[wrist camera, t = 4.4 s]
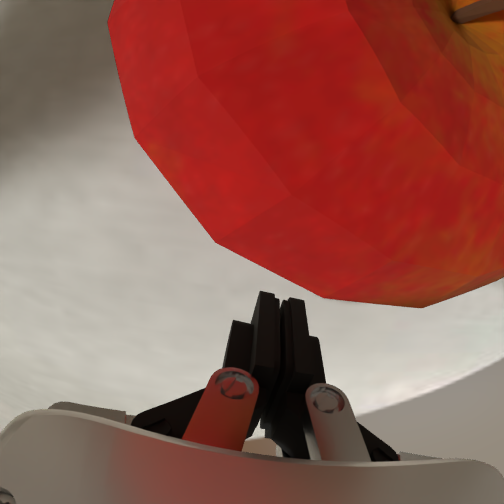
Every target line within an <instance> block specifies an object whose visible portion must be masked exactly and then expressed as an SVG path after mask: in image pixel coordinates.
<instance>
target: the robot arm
mask: <svg viewBox="0 0 504 504" xmlns="http://www.w3.org/2000/svg"><path fill="white" fill-rule="evenodd" d="M260 418H261V419H260ZM259 420H260V428H261V429H265V438H270V439H272V440H273V441H274V442H275V443H276V444H277V447H276V456H269V455H261V454H254V453H248V452H241V451H242V448H243V444H244V441H245V439H247V438H249V437H251V436H252V434H253V432H254V430H255V428H256V427H257V425H258V422H259ZM13 497H14V498H13ZM0 504H504V478H503V476H502V474H501V473H500V472H499V471H498V470H497V469H496V468H495V467H493V466H491V465H489V464H486V463H485V462H481V461H477V460H471V459H459V458H455V459H454V458H449V459H442V458H437V457H430V456H424V455H417V454H412V453H406V452H399V453H398V454H396V452H395V451H394V450H393V449H392V448H391V447H390V446H388V445H387V444H386V443H384V442H383V441H382V440H380V439H379V438H377V437H376V436H375V435H374V434H372V433H371V432H370V431H368V430H367V429H366V428H365V427H363V426H362V425H361V424H359V423H358V422H357V421H356V418H355V416H354V413H353V410H352V408H351V405H350V403H349V400H348V398H347V396H346V395H345V394H344V393H343V392H342V391H341V390H340V389H339V388H337V387H335V386H333V385H330V384H326V380H325V374H324V367H323V361H322V355H321V349H320V343H319V339H318V338H317V337H314V336H309V330H308V323H307V316H306V309H305V302H304V300H300V299H296V298H291V297H290V298H289V299H288V301H287V300H283V301H282V304H281V307H280V301H279V299H277V298H275V294H273V293H268V292H263V291H260V292H259V296H258V299H257V303H256V306H255V310H254V313H253V317H252V321H251V324H249V323H245V322H240V321H236V320H233V322H232V326H231V330H230V334H229V339H228V343H227V347H226V352H225V357H224V362H223V367H222V369H219V370H217V371H216V372H214V373H213V375H212V376H211V378H210V380H209V382H208V384H207V386H206V388H204V389H201V390H199V391H196V392H194V393H191V394H189V395H186V396H184V397H181V398H179V399H176V400H173V401H171V402H168V403H166V404H163V405H160V406H157V407H155V408H152V409H149V410H146V411H144V412H142V413H140V414H138V415H137V416H133V415H126V411H119V410H112V409H106V408H99V407H93V406H88V405H82V404H77V403H72V402H58V403H54V404H53V405H52V406H50V407H49V408H48V409H38V410H31V411H27V412H24V413H22V414H20V415H18V416H17V417H15V418H14V419H13V420H12V421H11V422H10V423H9V424H8V425H7V426H6V427H5V428H4V429H3V430H2V431H1V433H0Z"/></svg>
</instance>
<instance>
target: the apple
mask: <svg viewBox="0 0 504 504" xmlns="http://www.w3.org/2000/svg"><path fill="white" fill-rule="evenodd" d="M108 27H109V32H110V37H111V42H112V47H113V52H114V56H115V61H116V65H117V70H118V74H119V79H120V83H121V87H122V91H123V95H124V99H125V103H126V107H127V111H128V115H129V119H130V122H131V126H132V130H133V134H134V137H135V139H136V140H137V142H138V143H139V144H140V146H141V147H142V148H143V150H144V151H145V152H146V153H147V155H148V156H149V157H150V159H151V160H152V161H153V163H154V164H155V165H156V167H157V168H158V169H159V171H160V172H161V173H162V174H163V176H164V177H165V178H166V180H167V181H168V182H169V184H170V185H171V186H172V187H173V189H174V190H175V191H176V193H177V194H178V195H179V197H180V198H181V199H182V200H183V202H184V203H185V204H186V206H187V207H188V208H189V209H190V211H191V212H192V213H193V215H194V216H195V217H196V218H197V220H198V221H199V222H200V223H201V225H202V226H203V227H204V229H205V230H206V231H207V232H208V234H209V235H210V236H211V238H212V239H213V240H214V241H215V243H217V244H219V245H221V246H223V247H225V248H227V249H229V250H231V251H233V252H235V253H237V254H239V255H240V256H242V257H244V258H246V259H248V260H250V261H252V262H254V263H256V264H258V265H260V266H262V267H264V268H266V269H268V270H270V271H272V272H274V273H275V274H277V275H279V276H281V277H283V278H285V279H287V280H289V281H291V282H293V283H295V284H297V285H299V286H301V287H303V288H305V289H307V290H309V291H311V292H313V293H315V294H317V295H318V296H320V297H322V298H327V299H336V300H345V301H354V302H363V303H372V304H382V305H392V306H402V307H413V308H424V307H427V306H430V305H433V304H436V303H439V302H441V301H444V300H447V299H450V298H453V297H456V296H458V295H461V294H464V293H466V292H469V291H472V290H474V289H477V288H480V287H482V286H485V285H487V284H490V283H492V282H495V281H497V280H499V279H501V278H503V277H504V0H115V1H114V3H113V6H112V9H111V12H110V16H109V19H108Z"/></svg>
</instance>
